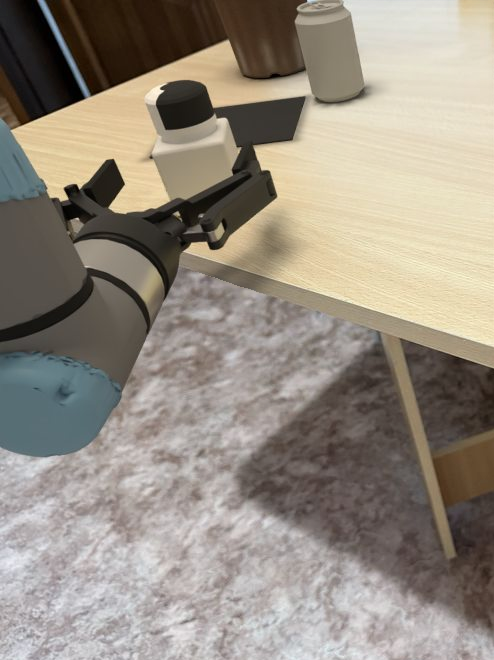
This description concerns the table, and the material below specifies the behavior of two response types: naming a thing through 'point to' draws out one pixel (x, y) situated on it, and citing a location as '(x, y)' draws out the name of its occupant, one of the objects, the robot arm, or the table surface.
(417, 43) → the table surface
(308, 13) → the can
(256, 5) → the plant pot
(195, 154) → the medicine bottle
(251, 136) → the mat
